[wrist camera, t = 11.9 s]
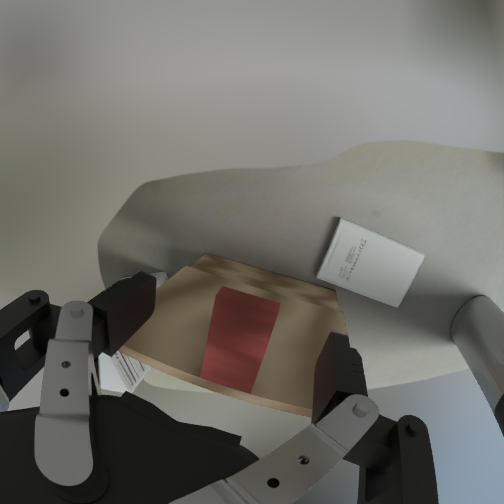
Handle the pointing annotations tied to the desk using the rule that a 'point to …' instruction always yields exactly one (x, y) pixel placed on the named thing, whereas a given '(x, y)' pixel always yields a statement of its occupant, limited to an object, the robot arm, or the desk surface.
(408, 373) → the desk surface
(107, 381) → the supplement box
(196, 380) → the lid
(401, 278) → the external hard drive
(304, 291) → the mailer base
